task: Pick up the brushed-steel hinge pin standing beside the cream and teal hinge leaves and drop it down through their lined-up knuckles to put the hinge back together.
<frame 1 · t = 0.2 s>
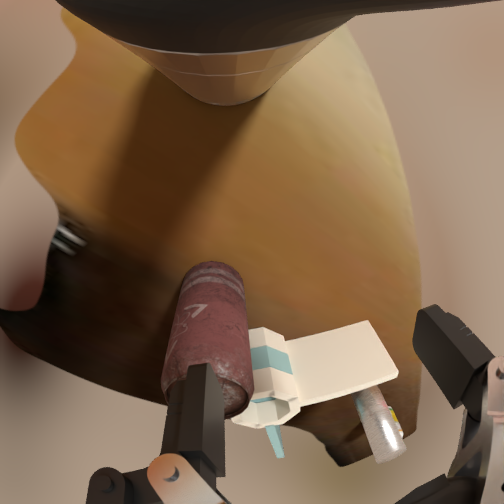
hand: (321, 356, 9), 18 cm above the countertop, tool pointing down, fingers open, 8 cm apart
hinge pin: (350, 358, 35), on the countertop
supplement bottle: (378, 412, 44), on the countertop
can: (213, 285, 28), on the countertop
leaf b: (256, 350, 33), on the countertop
leaf a: (256, 350, 33), on the countertop
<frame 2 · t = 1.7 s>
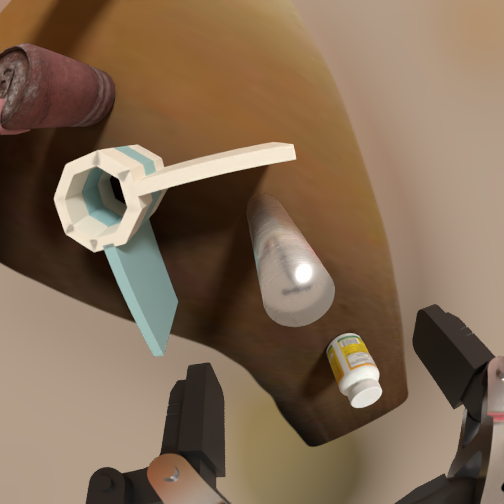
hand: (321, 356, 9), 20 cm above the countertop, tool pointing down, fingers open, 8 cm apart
hinge pin: (263, 210, 28), on the countertop
supplement bottle: (343, 345, 36), on the countertop
can: (92, 100, 22), on the countertop
leaf b: (133, 182, 26), on the countertop
leaf a: (133, 182, 26), on the countertop
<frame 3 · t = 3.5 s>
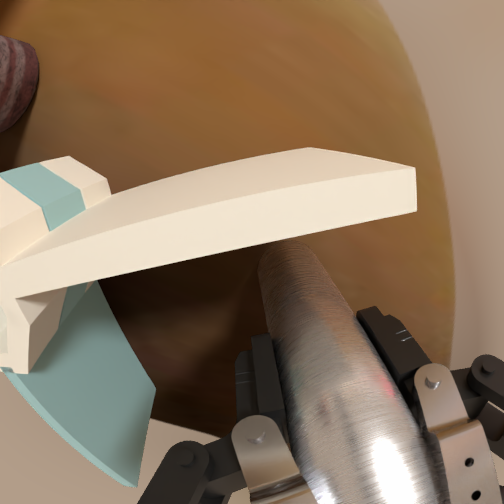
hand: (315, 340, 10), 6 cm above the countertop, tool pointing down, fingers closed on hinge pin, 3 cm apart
hinge pin: (288, 269, 16), on the countertop, touching gripper
can: (12, 89, 10), on the countertop
leaf b: (67, 220, 14), on the countertop
leaf a: (67, 220, 14), on the countertop
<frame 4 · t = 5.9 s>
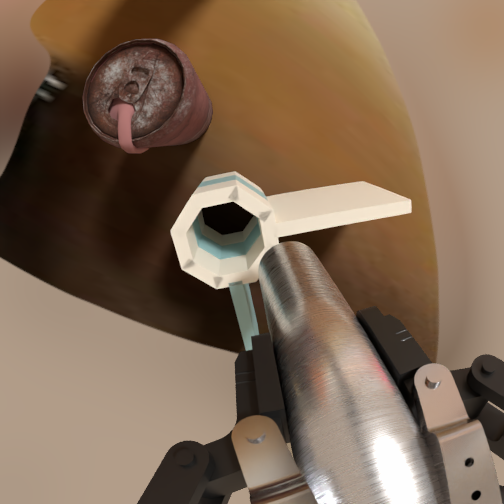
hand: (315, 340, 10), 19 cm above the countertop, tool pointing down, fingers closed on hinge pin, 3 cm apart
hinge pin: (288, 269, 16), point 13 cm above the countertop, touching gripper
can: (181, 115, 24), on the countertop
leaf b: (227, 209, 27), on the countertop
leaf a: (227, 209, 27), on the countertop
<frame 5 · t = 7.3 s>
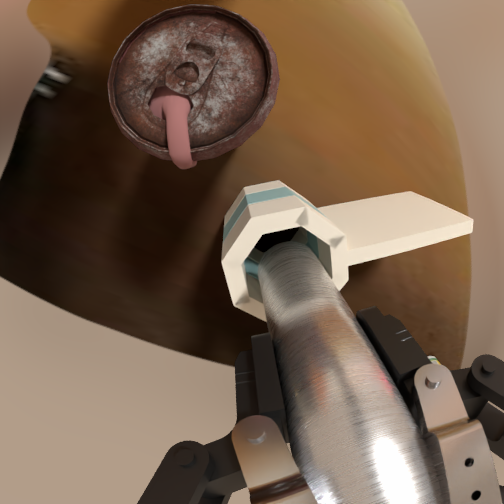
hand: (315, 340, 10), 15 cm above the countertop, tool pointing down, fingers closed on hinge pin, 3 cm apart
hinge pin: (288, 270, 16), point 9 cm above the countertop, touching gripper
can: (214, 113, 20), on the countertop
leaf b: (269, 223, 24), on the countertop
leaf a: (269, 223, 24), on the countertop
when the fingers open (12 cm above the countertop, at t = 8.2 s): hinge pin drops 6 cm, resting in leaf a.
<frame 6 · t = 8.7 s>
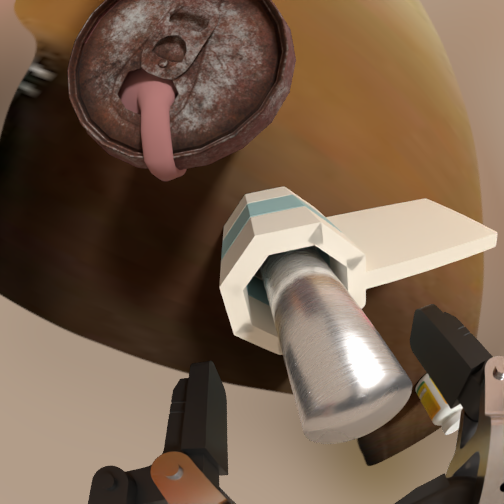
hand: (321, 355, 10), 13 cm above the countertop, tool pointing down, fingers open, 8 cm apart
hinge pin: (274, 234, 21), resting in leaf a
supplement bottle: (428, 379, 32), on the countertop
can: (211, 111, 18), on the countertop
leaf b: (273, 234, 22), on the countertop
leaf a: (273, 234, 22), on the countertop
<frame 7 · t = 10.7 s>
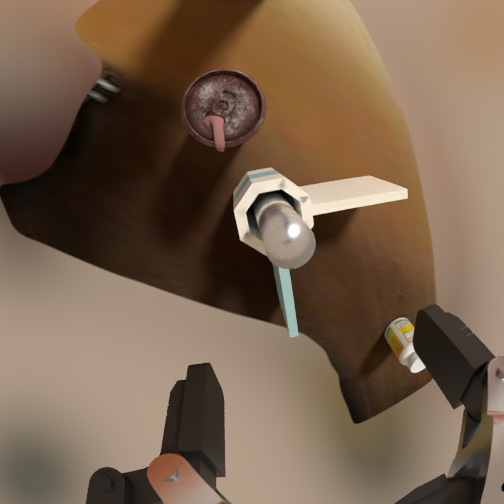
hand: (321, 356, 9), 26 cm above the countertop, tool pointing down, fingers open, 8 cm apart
hinge pin: (264, 197, 34), resting in leaf a
supplement bottle: (395, 328, 44), on the countertop
can: (226, 121, 30), on the countertop
leaf b: (264, 197, 34), on the countertop
leaf a: (264, 197, 34), on the countertop
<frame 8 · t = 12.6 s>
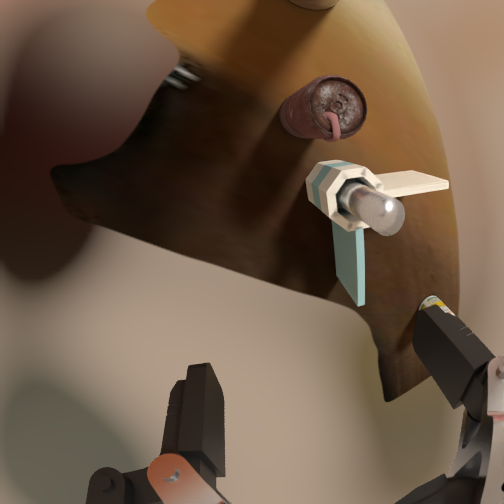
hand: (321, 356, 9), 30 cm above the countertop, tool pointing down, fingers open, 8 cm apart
hinge pin: (331, 185, 37), resting in leaf a
supplement bottle: (427, 305, 48), on the countertop
can: (301, 117, 34), on the countertop
leaf b: (330, 185, 37), on the countertop
leaf a: (330, 185, 37), on the countertop
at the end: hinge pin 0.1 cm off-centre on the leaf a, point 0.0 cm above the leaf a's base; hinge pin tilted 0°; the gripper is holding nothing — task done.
